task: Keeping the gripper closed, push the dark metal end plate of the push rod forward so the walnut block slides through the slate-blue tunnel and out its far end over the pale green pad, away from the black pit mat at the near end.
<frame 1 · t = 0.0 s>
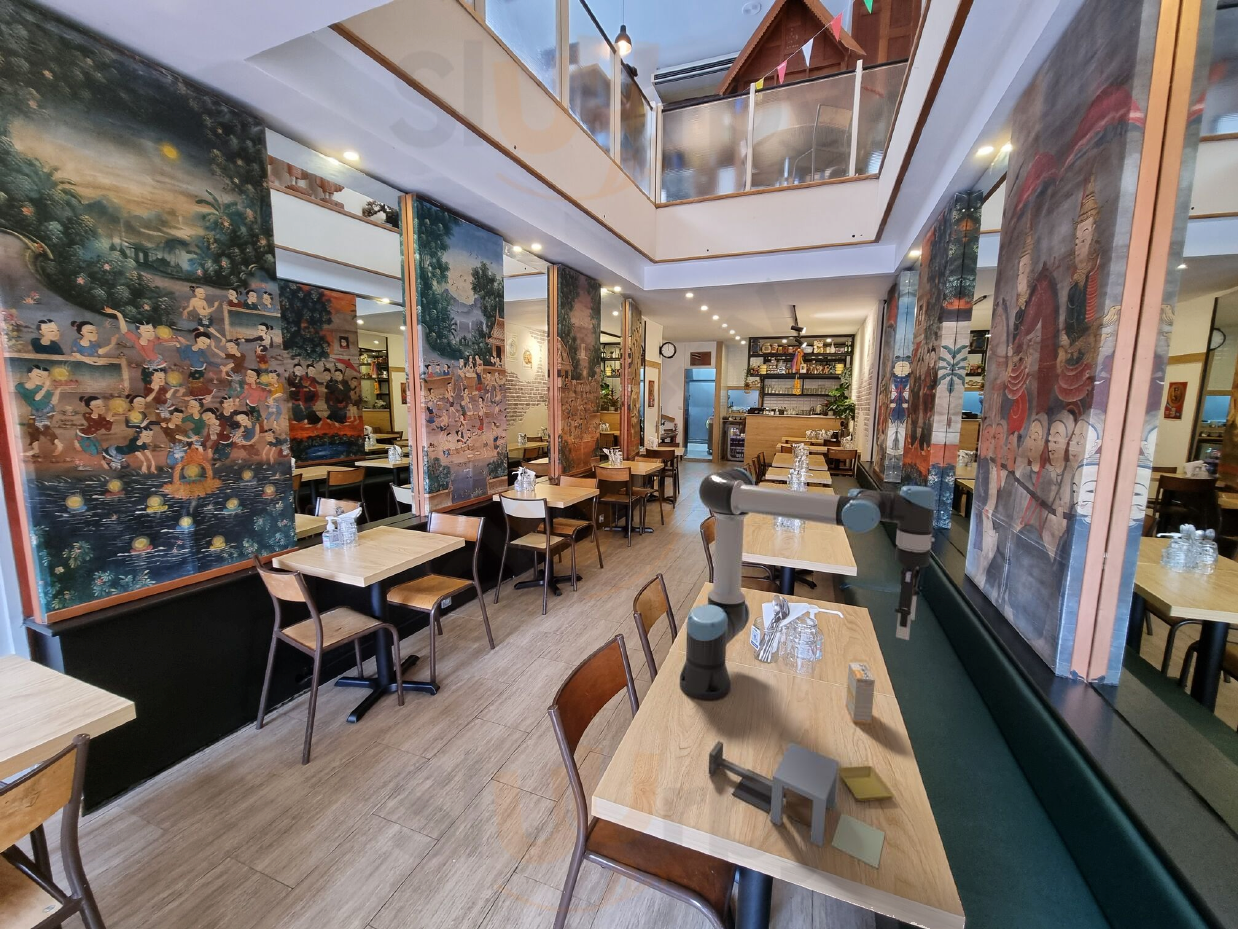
hand: (905, 627, 125), 28 cm above the table, fingers open, 13 cm apart
tunnel: (803, 812, 102), on the table
yellow tray: (863, 790, 109), on the table
pit mat: (757, 790, 108), on the table
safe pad: (858, 839, 96), on the table
push rod: (763, 778, 107), point 3 cm above the table, slide at 0.0 cm
supplement box: (858, 715, 134), on the table
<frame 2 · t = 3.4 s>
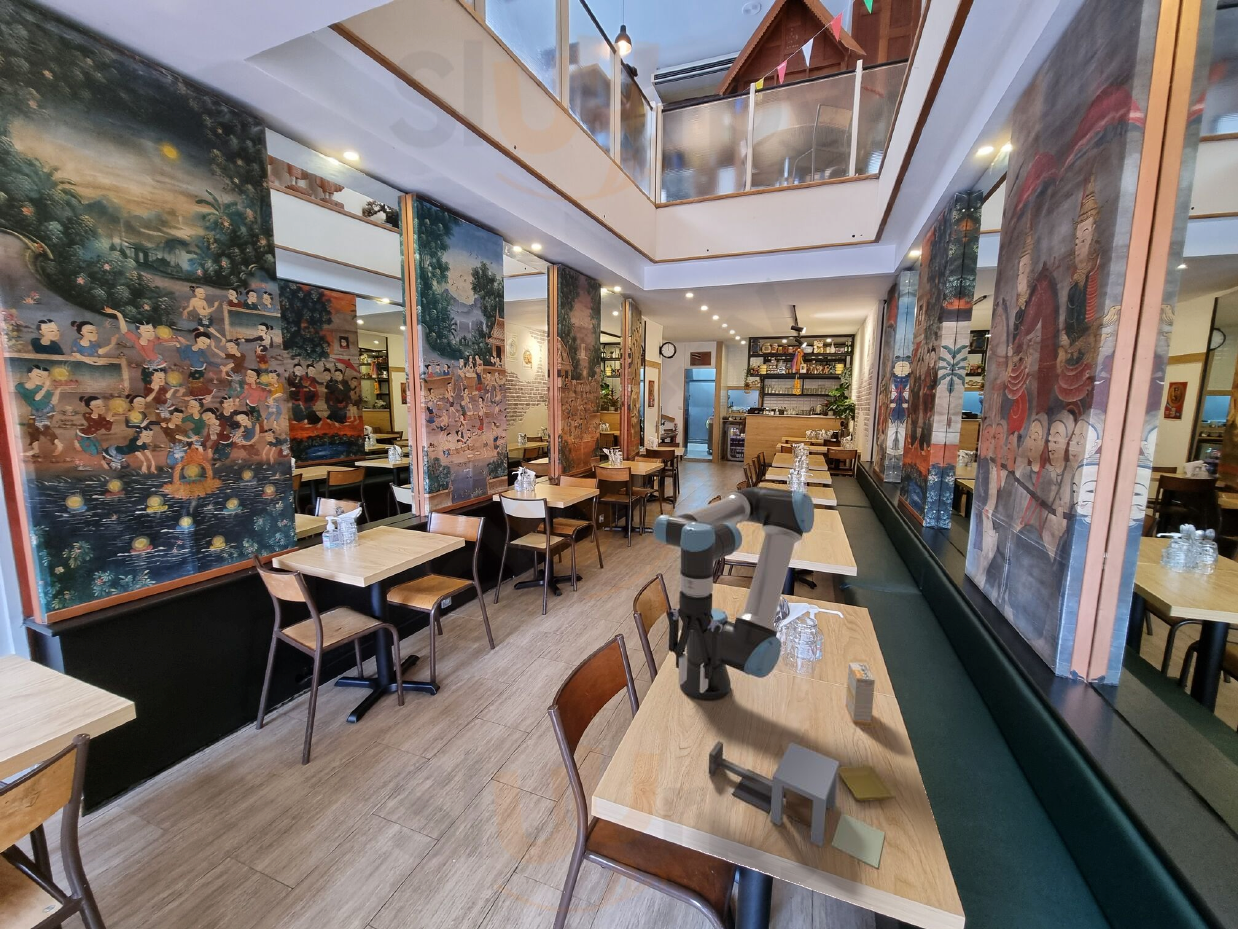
hand: (693, 685, 115), 19 cm above the table, fingers open, 5 cm apart
nothing on the table moved.
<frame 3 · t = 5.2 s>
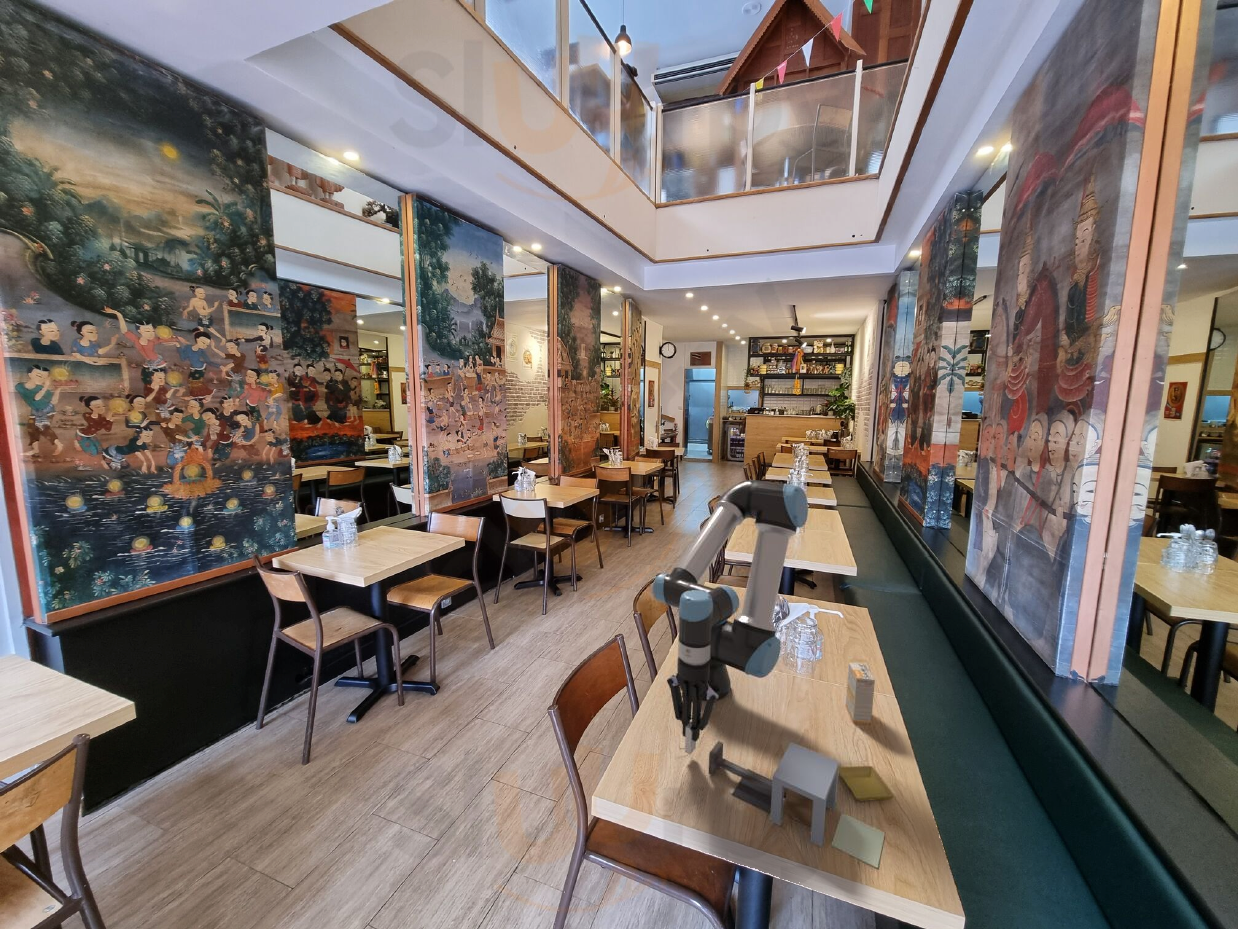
hand: (690, 750, 117), 2 cm above the table, fingers closed
nothing on the table moved.
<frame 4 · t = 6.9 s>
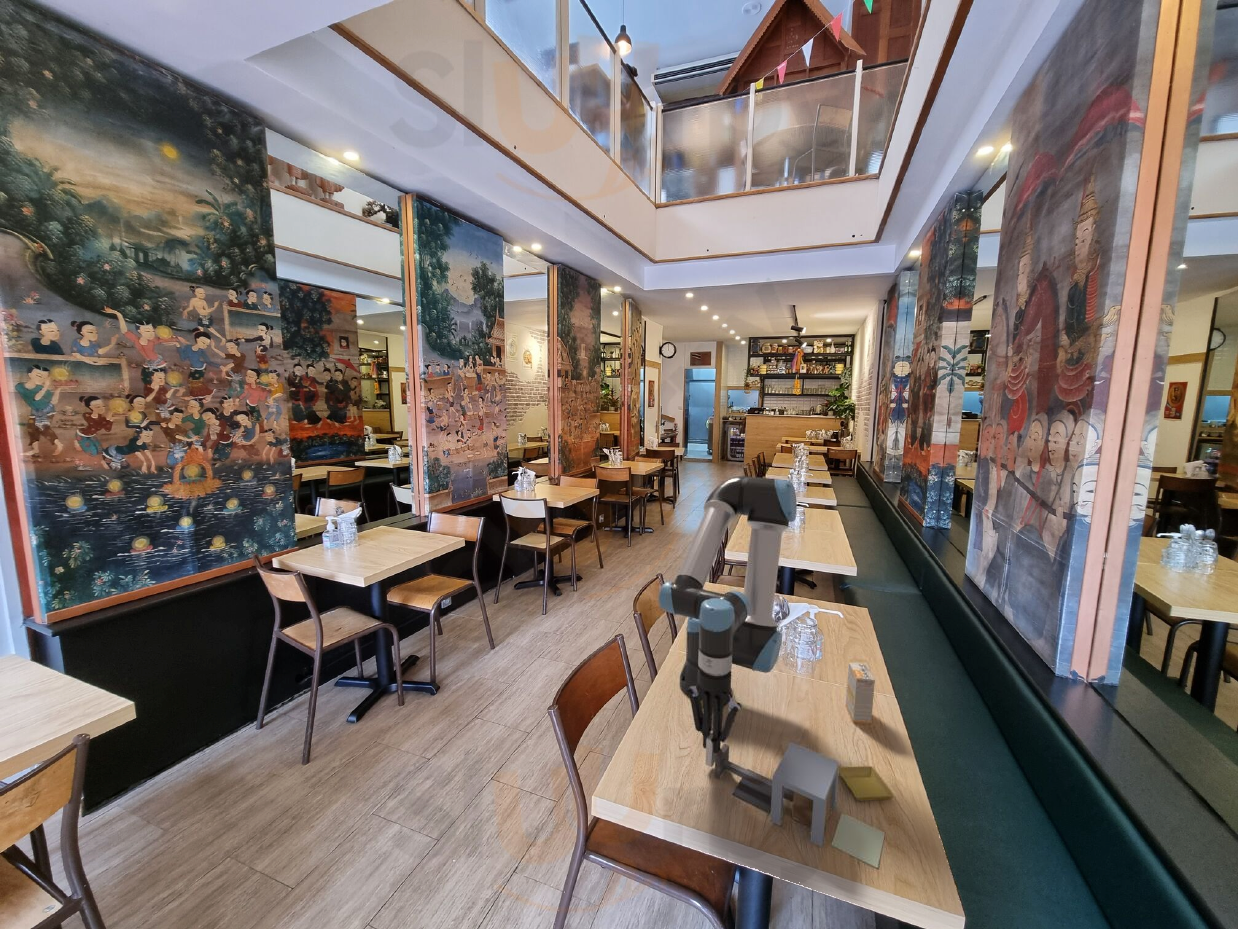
hand: (710, 762, 114), 2 cm above the table, fingers closed
push rod: (769, 782, 106), point 3 cm above the table, slide at 1.5 cm, touching gripper
everything else where it was.
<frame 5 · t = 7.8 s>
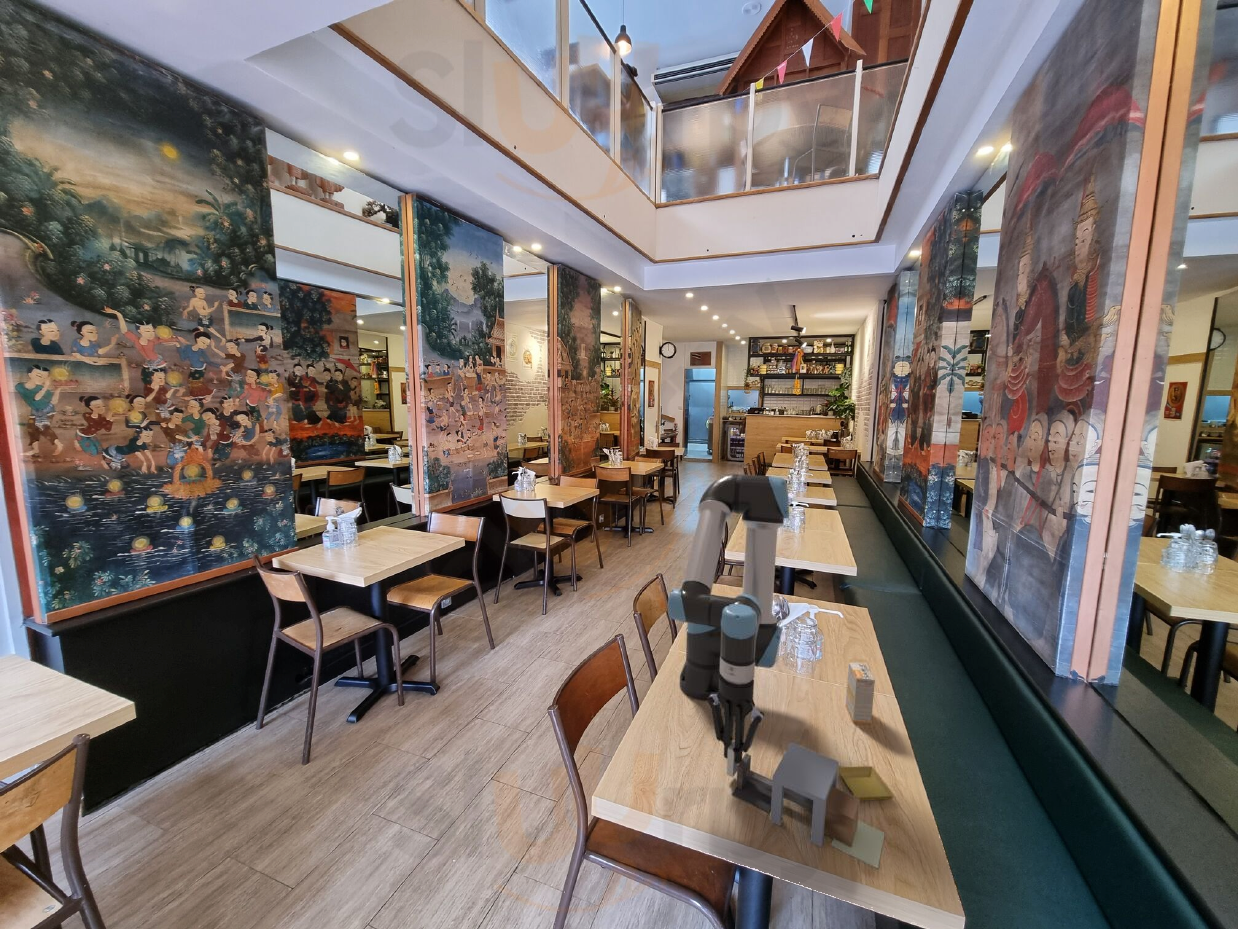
hand: (732, 772, 111), 2 cm above the table, fingers closed
push rod: (794, 793, 103), point 3 cm above the table, slide at 6.8 cm, touching gripper
everything else where it was.
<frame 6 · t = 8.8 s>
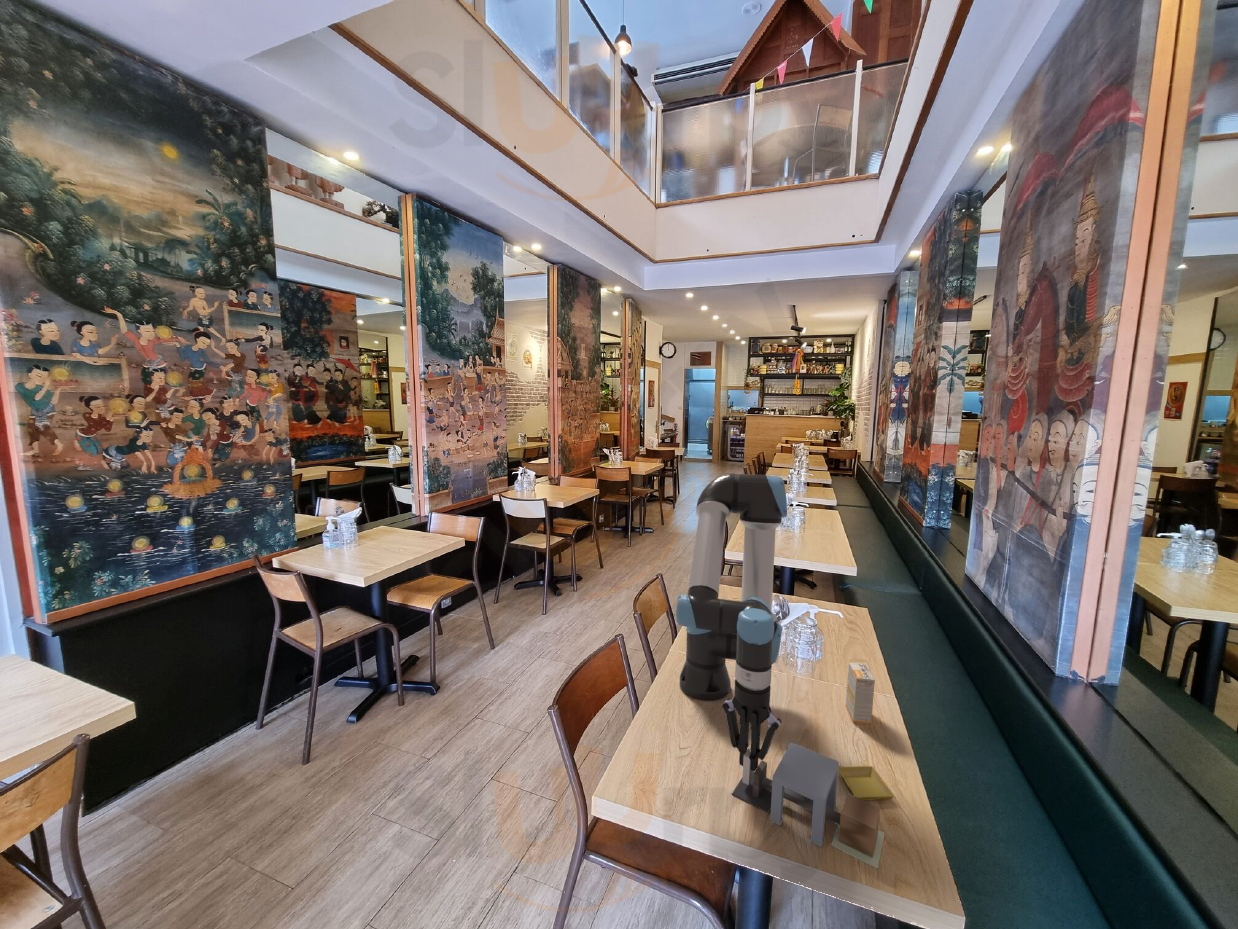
hand: (747, 780, 109), 1 cm above the table, fingers closed
push rod: (812, 802, 100), point 3 cm above the table, slide at 10.5 cm, touching gripper
everything else where it was.
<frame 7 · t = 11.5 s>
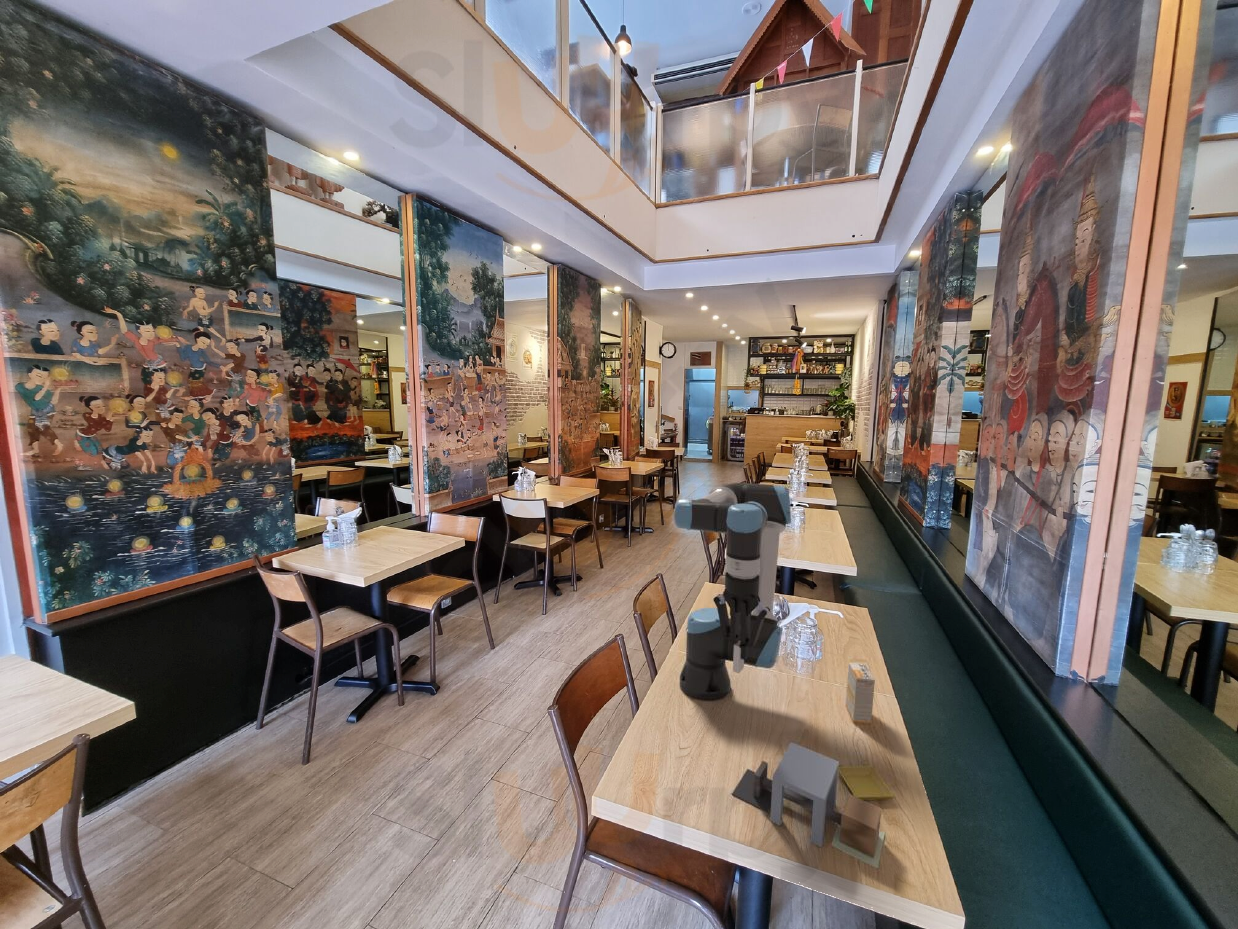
hand: (738, 669, 113), 23 cm above the table, fingers closed
push rod: (813, 802, 100), point 3 cm above the table, slide at 10.6 cm
everything else where it was.
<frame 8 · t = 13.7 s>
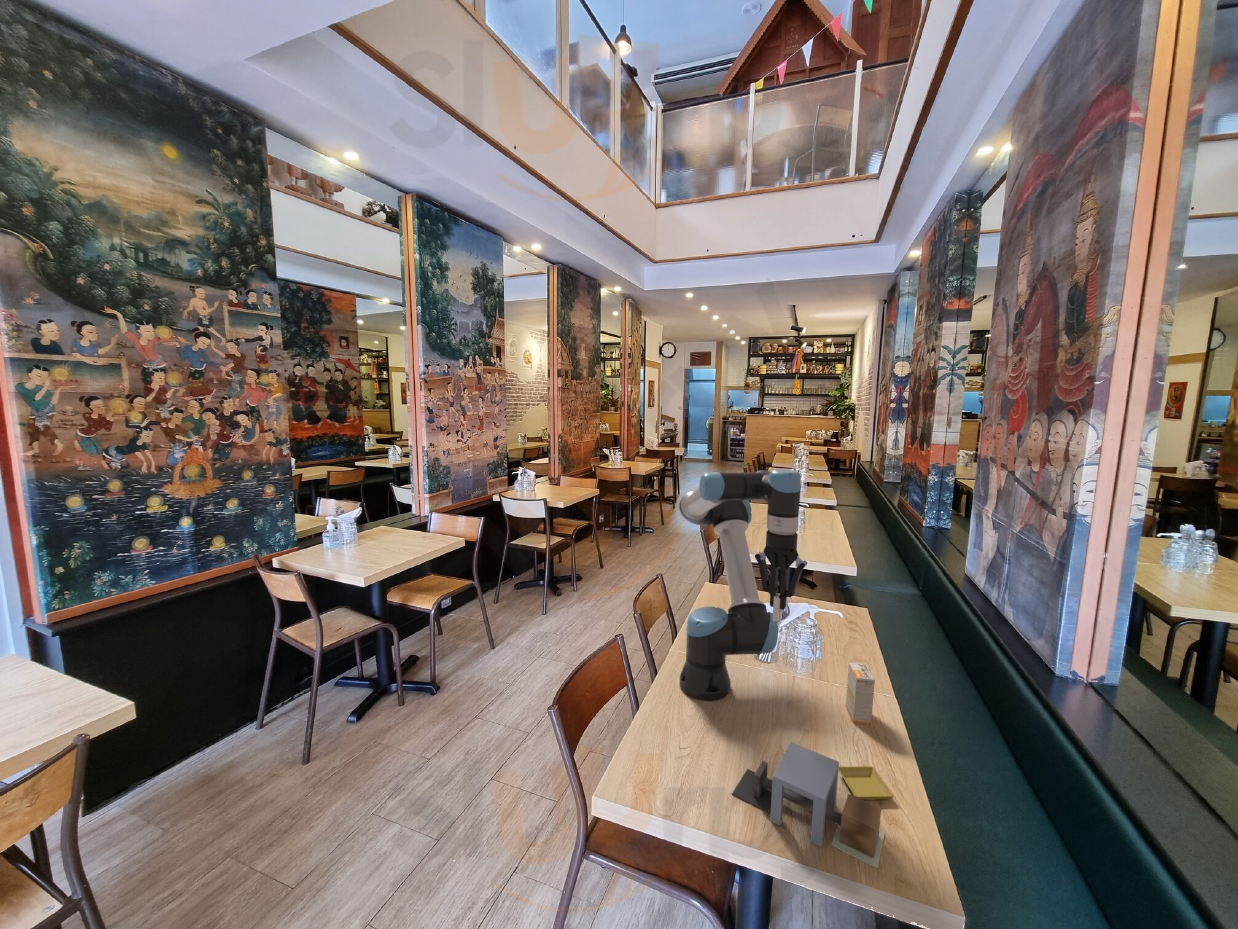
hand: (777, 619, 126), 29 cm above the table, fingers closed
nothing on the table moved.
at the end: push rod slide at 10.6 cm; push rod 0.4 cm from the target spot, resting on pit mat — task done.
